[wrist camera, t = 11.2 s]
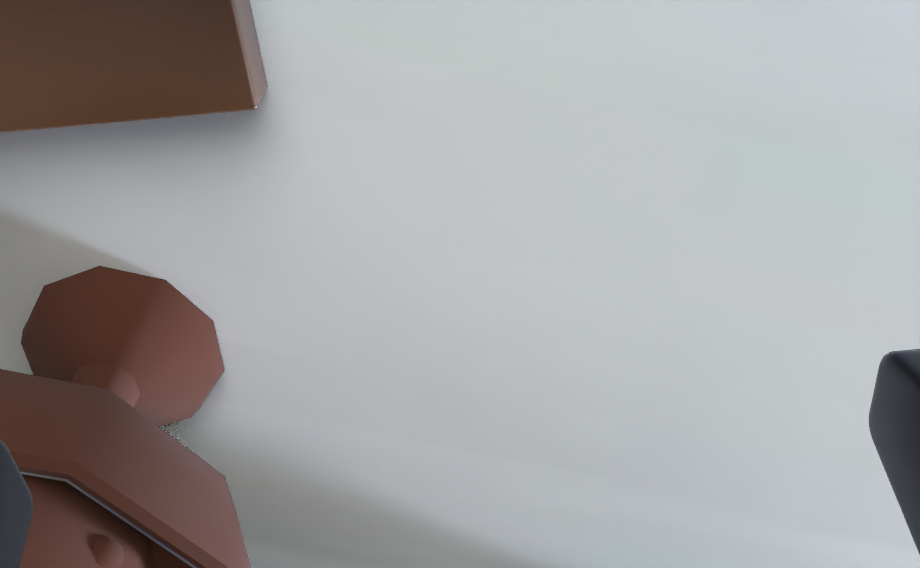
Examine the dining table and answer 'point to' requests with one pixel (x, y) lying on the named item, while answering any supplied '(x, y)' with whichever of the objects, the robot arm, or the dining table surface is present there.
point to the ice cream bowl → (117, 428)
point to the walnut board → (125, 61)
